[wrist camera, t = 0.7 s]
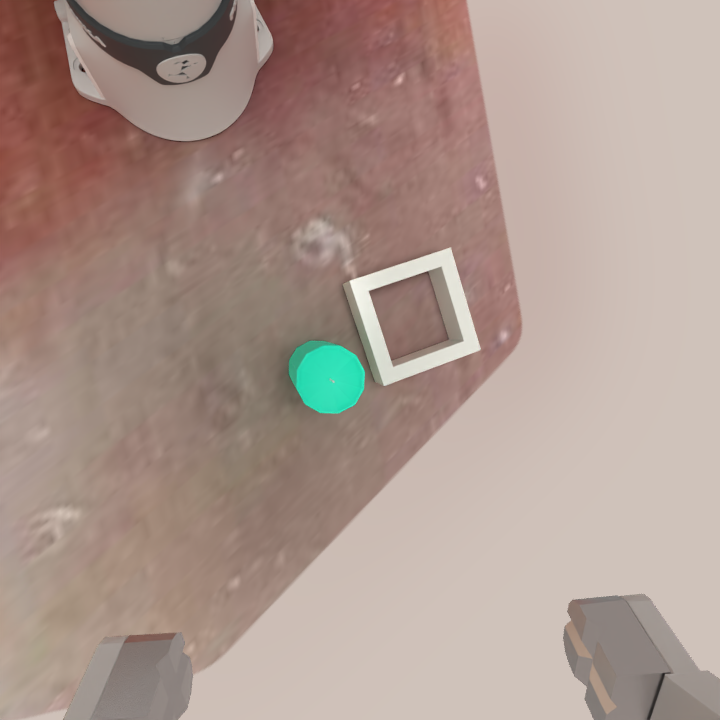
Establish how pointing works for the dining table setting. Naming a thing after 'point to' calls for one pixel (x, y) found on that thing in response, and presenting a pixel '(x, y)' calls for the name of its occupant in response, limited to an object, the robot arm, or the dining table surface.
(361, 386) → the candle
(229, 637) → the dining table surface
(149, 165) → the dining table surface
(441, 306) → the frame
